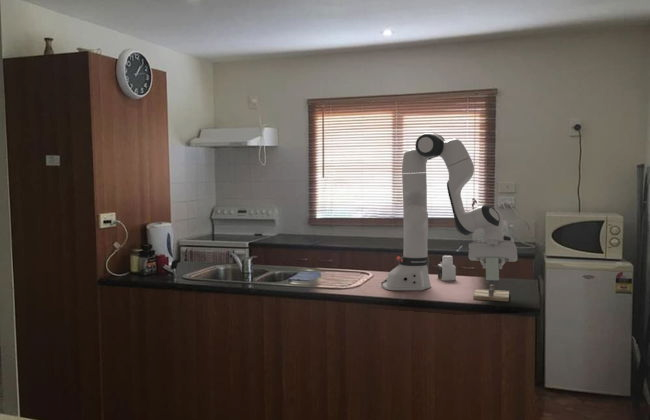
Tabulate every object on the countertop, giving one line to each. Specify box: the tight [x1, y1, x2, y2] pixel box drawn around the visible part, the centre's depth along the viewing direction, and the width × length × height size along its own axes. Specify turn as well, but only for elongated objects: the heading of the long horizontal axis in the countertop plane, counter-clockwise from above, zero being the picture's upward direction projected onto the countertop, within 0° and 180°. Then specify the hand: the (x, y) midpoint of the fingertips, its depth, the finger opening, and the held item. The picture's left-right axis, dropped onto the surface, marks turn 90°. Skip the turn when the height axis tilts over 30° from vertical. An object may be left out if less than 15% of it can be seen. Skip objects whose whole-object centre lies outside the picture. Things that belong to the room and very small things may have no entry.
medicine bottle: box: [437, 254, 457, 282], centre depth 278 cm, size 7×7×12 cm
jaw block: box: [485, 257, 500, 281], centre depth 238 cm, size 5×5×9 cm
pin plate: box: [473, 284, 510, 302], centre depth 238 cm, size 14×14×4 cm
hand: (492, 267), depth 237 cm, fingers closed on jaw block, 5 cm apart
